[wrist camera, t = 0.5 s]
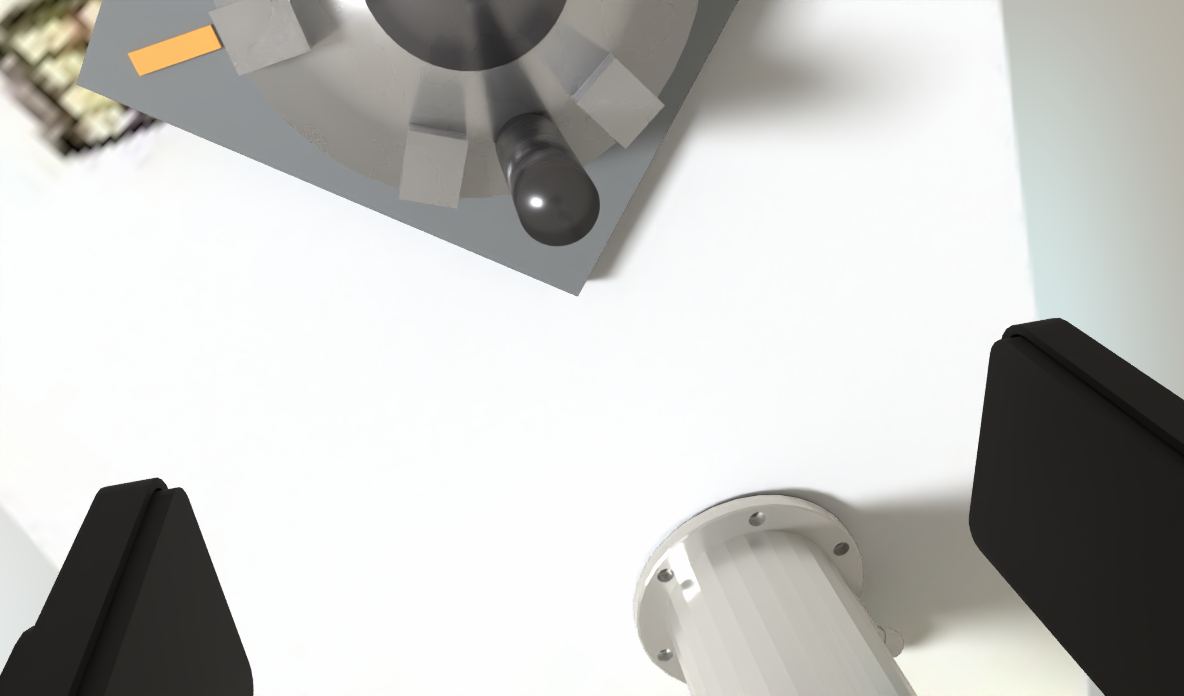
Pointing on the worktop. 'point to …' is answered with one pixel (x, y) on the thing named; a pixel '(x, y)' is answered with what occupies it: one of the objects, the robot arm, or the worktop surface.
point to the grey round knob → (465, 91)
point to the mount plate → (257, 130)
